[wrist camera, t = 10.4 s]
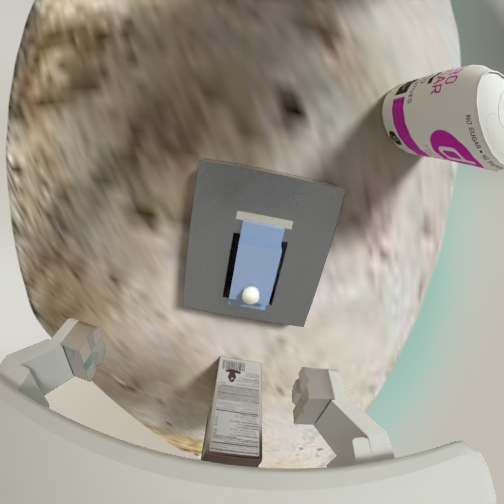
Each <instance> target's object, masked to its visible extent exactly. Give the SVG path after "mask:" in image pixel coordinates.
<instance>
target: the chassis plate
mask: <svg viewBox="0 0 504 504" xmlns="http://www.w3.org/2000/svg"><path fill="white" fill-rule="evenodd" d="M345 191H346V190H344V189H342V188H341V187H339V186H337V185H333V184H329V183H325V182H321V181H317V180H313V179H309V178H305V177H300V176H296V175H291V174H287V173H282V172H277V171H272V170H267V169H262V168H257V167H252V166H246V165H241V164H235V163H229V162H223V161H217V160H210V159H203V160H200V161H199V165H198V172H197V178H196V185H195V192H194V200H193V207H192V215H191V223H190V232H189V241H188V250H187V260H186V271H185V283H184V295H183V307H188V308H193V309H198V310H203V311H208V312H213V313H219V314H224V315H230V316H235V317H241V318H247V319H253V320H259V321H266V322H272V323H279V324H286V325H293V326H301V327H304V324H305V321H306V318H307V315H308V313H309V310H310V307H311V304H312V301H313V298H314V295H315V292H316V289H317V286H318V283H319V280H320V277H321V274H322V271H323V268H324V265H325V261H326V258H327V255H328V252H329V248H330V245H331V242H332V238H333V235H334V231H335V228H336V224H337V221H338V217H339V214H340V210H341V206H342V202H343V199H344V195H345ZM243 220H245V221H250V222H256V223H261V224H266V225H271V226H276V227H282V228H284V229H285V231H284V235H283V239H282V241H283V244H282V254H281V258H280V262H279V266H278V270H277V274H276V278H275V282H274V285H273V289H272V293H271V297H270V301H269V305H266V308H265V310H260V309H254V308H248V307H242V306H236V305H230V304H228V301H229V295H230V289H231V284H226V278H227V272H228V266H229V260H230V254H231V248H232V243H233V237H234V232H235V233H240V234H241V228H242V223H243Z"/></svg>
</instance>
